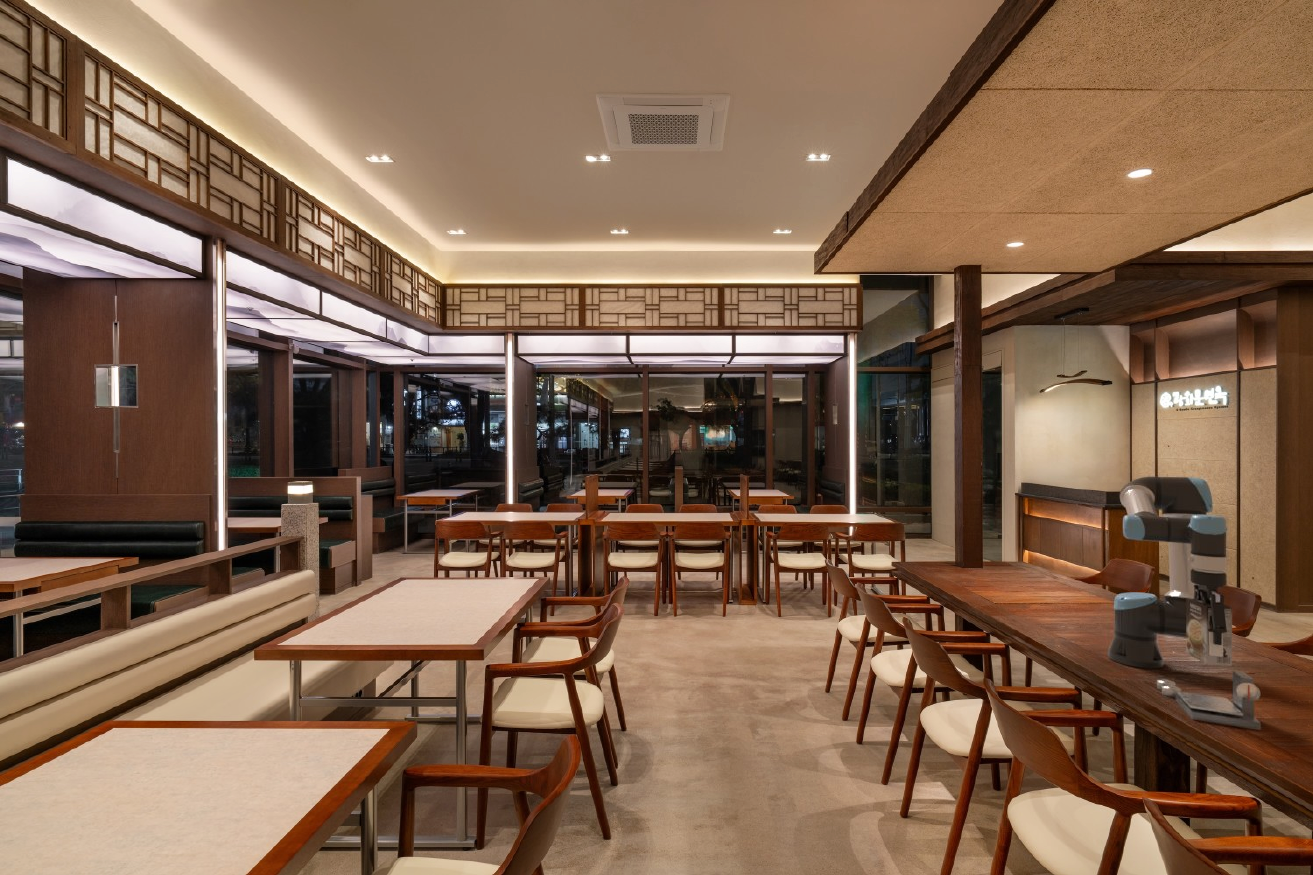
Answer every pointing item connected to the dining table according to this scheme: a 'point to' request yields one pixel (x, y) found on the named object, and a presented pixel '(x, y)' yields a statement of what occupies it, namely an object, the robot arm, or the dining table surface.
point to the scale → (1225, 704)
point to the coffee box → (1206, 633)
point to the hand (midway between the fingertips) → (1208, 649)
